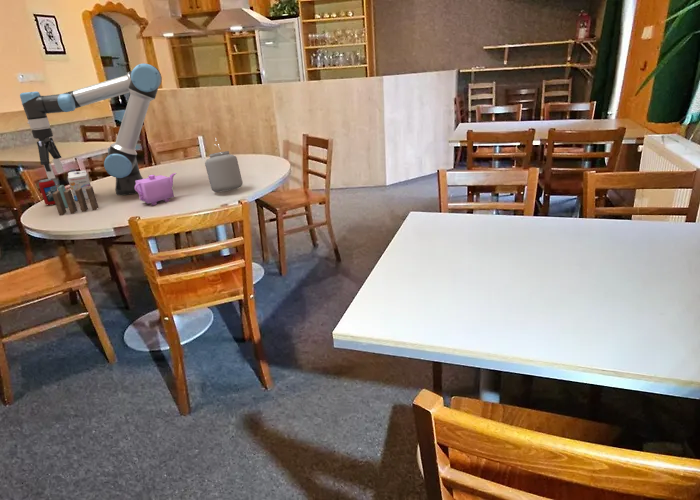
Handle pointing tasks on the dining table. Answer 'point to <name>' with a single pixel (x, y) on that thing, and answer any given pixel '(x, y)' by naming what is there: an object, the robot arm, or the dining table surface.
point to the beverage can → (48, 190)
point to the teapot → (155, 188)
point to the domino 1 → (62, 189)
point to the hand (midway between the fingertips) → (56, 175)
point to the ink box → (79, 182)
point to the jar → (223, 171)
